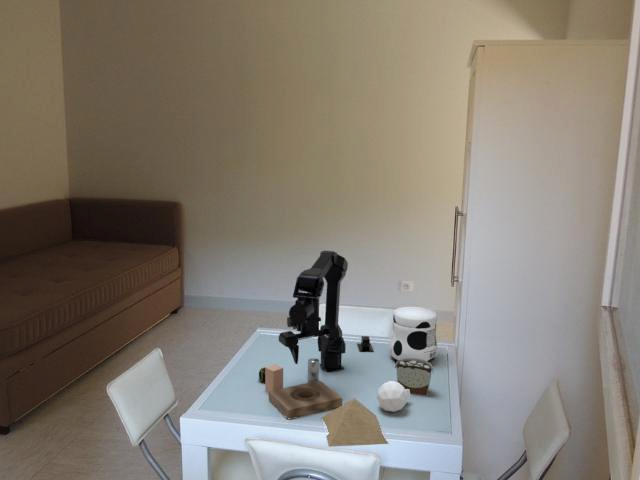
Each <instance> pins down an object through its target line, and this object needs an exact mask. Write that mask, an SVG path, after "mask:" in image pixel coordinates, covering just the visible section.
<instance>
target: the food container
mask: <svg viewBox="0 0 640 480" xmlns="http://www.w3.org/2000/svg"><path fill="white" fill-rule="evenodd" d="M394 369H396V380H397V381H396V382H398V383H400V384H401V385H402V386H403V387H404V388H405V389H410V395H413V396H420V397H425V398H428V396H429V395H428V394H429V388H430V383H431V378H432V374H434V367H433V365H432V363H431V362H430V363H429V362H427V361H425V360H421V359H415V358H406V359H401V360H399V361H397V360H396V363H395V365H394Z"/></svg>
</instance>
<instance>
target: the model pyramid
mask: <svg viewBox="0 0 640 480" xmlns="http://www.w3.org/2000/svg"><path fill="white" fill-rule="evenodd" d="M322 419H323V421H324V422H325V424H326V426H327V429H328V432H329V434H328V435H327V436H326V435H325V436H326V440H327V444H328V447H330V448H331V447H349V446H373V445H374V446H375V445H389V442H388V440H387V441H386V439H387V438H386V439H385V438H384V436H383V434H382V431H381V428H382V427H381V428H380V426H381V424H380V421H379V420H377V419H378V418H377V415H376V414H375V413H373V411H371V410H370V409H369V408H367V407H366V406H365V405H364V404H363V403H361V402H360V401H359V400H358V399H357V398H355V397H353V398H352V399H350V400H349V401H347V402H346V403H343V404H342V406H340V407H338V408H337V409H333V410H331V411H330V412H328V413H327V414H325V415H323V416H322V418H321V420H322ZM379 424H380V425H379Z"/></svg>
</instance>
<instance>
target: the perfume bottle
mask: <svg viewBox="0 0 640 480" xmlns="http://www.w3.org/2000/svg"><path fill="white" fill-rule="evenodd" d="M409 398H411V394H410V389H405V388H404V387H403V386H402V385H401V384H400V383H398V382H397V381H393V380H389V381H386V382H384V383H383V384H382V385H381V386H380V387H379V388H378V390H377V395H376V399H377V402H378V404H379V406H380V407H381V408H382V409H383V410H384V411H386V412H391V413H392V412H393V413H396V412H398V411H400V410H402V409H403V408H404V407H405V406H406V404H407V402H408V399H409Z"/></svg>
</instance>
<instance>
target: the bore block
mask: <svg viewBox="0 0 640 480" xmlns="http://www.w3.org/2000/svg"><path fill="white" fill-rule="evenodd" d="M268 401H269V402H270V403H271V404H272V405H273V406H274V407H275V408H276V409H277V410H278V411H279V413H281V414H282V416H284V417H285V416H286V417H287V418H294V417H298V418H301V416H302V417H306V416H310V415H314V414H319V413H323V412H328V411H333V410H335V409H337V408H338V407H340V406H342V405H343V397H342V396H341V395H339V394H338V393H337V392H336V391H334V390H333V389H332V388H331V387H329V385H326V383H324V382H323V381H322V380H319V381H316V382H311V383H308V382H307V383H303V384H302V383H301V384H296V385H291V386H287V387H283V388H281V389H276V390H271V391H269V393H268ZM286 417H285V418H286ZM287 418H286V419H287ZM294 419H295V418H294Z"/></svg>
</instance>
